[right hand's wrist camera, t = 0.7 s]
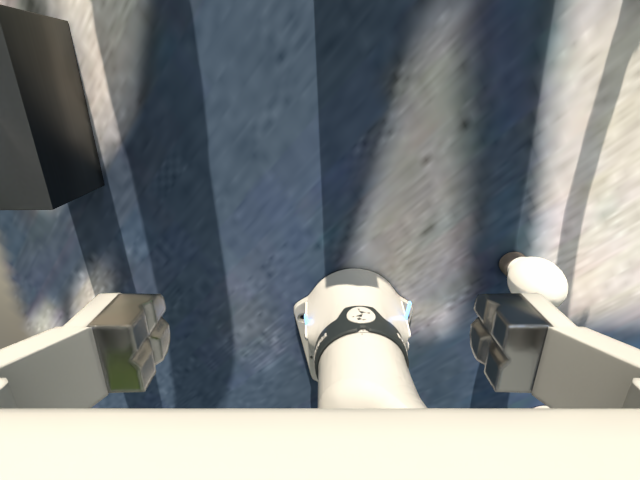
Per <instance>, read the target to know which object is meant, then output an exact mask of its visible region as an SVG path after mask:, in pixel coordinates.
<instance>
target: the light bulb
mask: <svg viewBox="0 0 640 480" xmlns="http://www.w3.org/2000/svg"><path fill="white" fill-rule="evenodd" d="M499 267H500V269H501V271H502V272H503V273H504V274H505V275H506V276H507V282H508V287H509V289H510V292H511V293H539V294H542V295H543V296H544V297H545V298H546V299H548V300H549V301H550V302H551V303H552V304H553V305H554V306H555V307H558V306H559V305H561V304H562V303H563V302H564V300H565V299H566V297H567V294H568V283H567V279H566V277H565V275H564V274H563V272H562V271H561V270H560V269H559V268H558V267H557V266H556V265H555V264H553V263H552V262H550V261H548V260H546V259H543V258H539V257H525V256H524V255H523V254H522V253H519V252H510V253H507V254H506V255H504V256H503V257H502V258H501V260H500V262H499Z"/></svg>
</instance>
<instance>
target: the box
mask: <svg viewBox="0 0 640 480" xmlns="http://www.w3.org/2000/svg"><path fill="white" fill-rule="evenodd" d="M102 186H104V181H103V176H102V172H101V167H100V163H99V158H98V154H97V149H96V145H95V141H94V136H93V132H92V127H91V123H90V118H89V114H88V109H87V105H86V100H85V96H84V91H83V87H82V83H81V78H80V74H79V69H78V65H77V60H76V56H75V51H74V47H73V42H72V38H71V33H70V29H69V25H68V21H65V20H61V19H57V18H53V17H49V16H45V15H41V14H36V13H32V12H28V11H24V10H20V9H16V8H12V7H8V6H4V5H0V210H53V209H55V208H57V207H59V206H62V205H64V204H66V203H68V202H70V201H72V200H74V199H76V198H78V197H81V196H83V195H85V194H87V193H89V192H91V191H93V190H95V189H97V188H100V187H102Z"/></svg>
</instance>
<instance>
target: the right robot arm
mask: <svg viewBox="0 0 640 480" xmlns="http://www.w3.org/2000/svg"><path fill="white" fill-rule="evenodd" d="M165 311H166V305H165V300H164V297H163V296H162V295H161V294H137V293H102V294H98V295H97V296H96V297H95V298H94V299H93V300H91V301H90V302H89V303H88V304H87V305H86V306H85V307H84V308H83V309H82V310H80V311H79V312H78V313H77V314H76V315H75V316H74V317H73V318H72V319H71V320H69V321H68V322H67V323H66V324H65V325H64V326H63V327H54V328H52V329H49V330H47V331H45V332H42V333H40V334H37V335H35V336H32V337H30V338H27V339H25V340H22V341H20V342H17V343H15V344H12V345H10V346H7V347H5V348H2V349H0V480H640V349H637V348H635V347H632V346H630V345H628V344H625V343H623V342H620V341H618V340H615V339H613V338H610V337H608V336H605V335H603V334H600V333H598V332H595V331H593V330H591V329H588V328H586V327H577V326H576V325H575V324H574V323H573V322H572V321H571V320H569V319H568V318H567V317H566V316H565V315H564V314H563V313H562V312H561V311H560V310H558V309H557V308H556V307H555V306H554V305H553V304H552V303H551V302H550V301H549V300H548V299H546V298H545V297H544V296H543V295H542V294H539V293H507V294H480V295H478V296H477V298H476V300H475V305H474V311H475V312H476V314H477V315H478V318H477V319H476V320H475V321H474V322H473V323H472V324H471V329H470V344H471V348H472V352H473V354H474V356H475V358H476V360H477V361H479V362H480V363H482V364H484V365H485V369H484V373H485V375H486V377H487V379H488V380H489V382H490V384H491V385H492V387H493V389H494V390H495V392H521V393H532V395H533V396H534V397H536V398H537V399H538V400H540V401H541V402H542V403H544V404H545V405H546V406H548V407H549V408H427V407H426V406H425V405H424V403H423V402H422V400H421V399H420V397H419V395H418V393H417V390H416V388H415V386H414V383H413V381H412V378H411V376H410V373H409V370H408V368H409V362H408V353H407V351H408V349H409V342H408V338H410V337H411V333H410V329H409V323H410V320H411V316H412V313H413V307H412V303H411V301H408V300H406V299H404V298H403V297H401V296H399V295H398V294H397V293H396V291H395V290H394V288H393V287H392V285H391V284H390V283H389V282H388V281H387V280H386V279H385V278H383V277H382V276H380V275H379V274H377V273H375V272H372V271H369V270H365V269H357V268H353V269H344V270H340V271H337V272H334V273H332V274H330V275H328V276H327V277H325V278H324V279H322V280H321V281H320V282H319V283H318V284H317V285H316V287H315V288H314V289H313V291H312V292H311V293H310V294H309V295H308V296H307V297H305V298H304V299H302V300H300V301H299V302H297V303H296V304H295V306H294V315H295V318H296V322H297V326H298V329H299V333H300V337H301V340H302V344H303V348H304V352H305V355H306V359H307V363H308V366H309V370H310V374H311V377H312V379H314V380H315V381H317V382H318V408H91V407H92V406H94V405H95V404H96V403H98V402H99V401H100V400H102V399H103V398H104V397H106V396H107V395H108V393H119V392H145V390H146V389H147V387H148V385H149V384H150V382H151V380H152V379H153V377H154V375H155V373H156V369H155V365H156V364H158V363H160V362H161V361H163V360H164V358H165V356H166V354H167V352H168V348H169V344H170V328H169V324H168V323H167V322H166V321H165V320H164V319H163V318H162V315H163V314H164V312H165ZM301 315H304V317H301Z"/></svg>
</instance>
